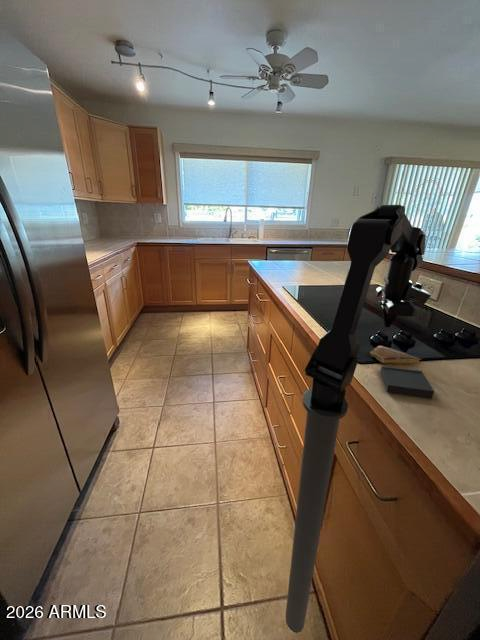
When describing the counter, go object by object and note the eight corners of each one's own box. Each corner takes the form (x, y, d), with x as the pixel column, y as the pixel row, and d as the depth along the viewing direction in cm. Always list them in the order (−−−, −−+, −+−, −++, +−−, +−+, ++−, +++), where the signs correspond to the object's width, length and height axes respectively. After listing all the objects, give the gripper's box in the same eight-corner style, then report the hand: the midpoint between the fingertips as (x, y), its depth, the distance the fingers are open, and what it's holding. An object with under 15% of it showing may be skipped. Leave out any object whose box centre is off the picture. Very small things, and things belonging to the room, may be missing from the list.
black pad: (386, 392, 60) (388, 384, 59) (379, 372, 67) (381, 365, 66) (431, 398, 57) (434, 391, 57) (419, 377, 64) (421, 370, 64)
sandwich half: (420, 363, 70) (422, 357, 69) (410, 375, 65) (412, 369, 65) (379, 348, 78) (380, 343, 77) (367, 358, 73) (368, 352, 72)
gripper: (446, 287, 63) (428, 344, 69) (419, 270, 79) (407, 317, 85) (394, 284, 66) (382, 339, 72) (379, 268, 82) (370, 314, 88)
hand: (387, 326), depth 79 cm, fingers closed
